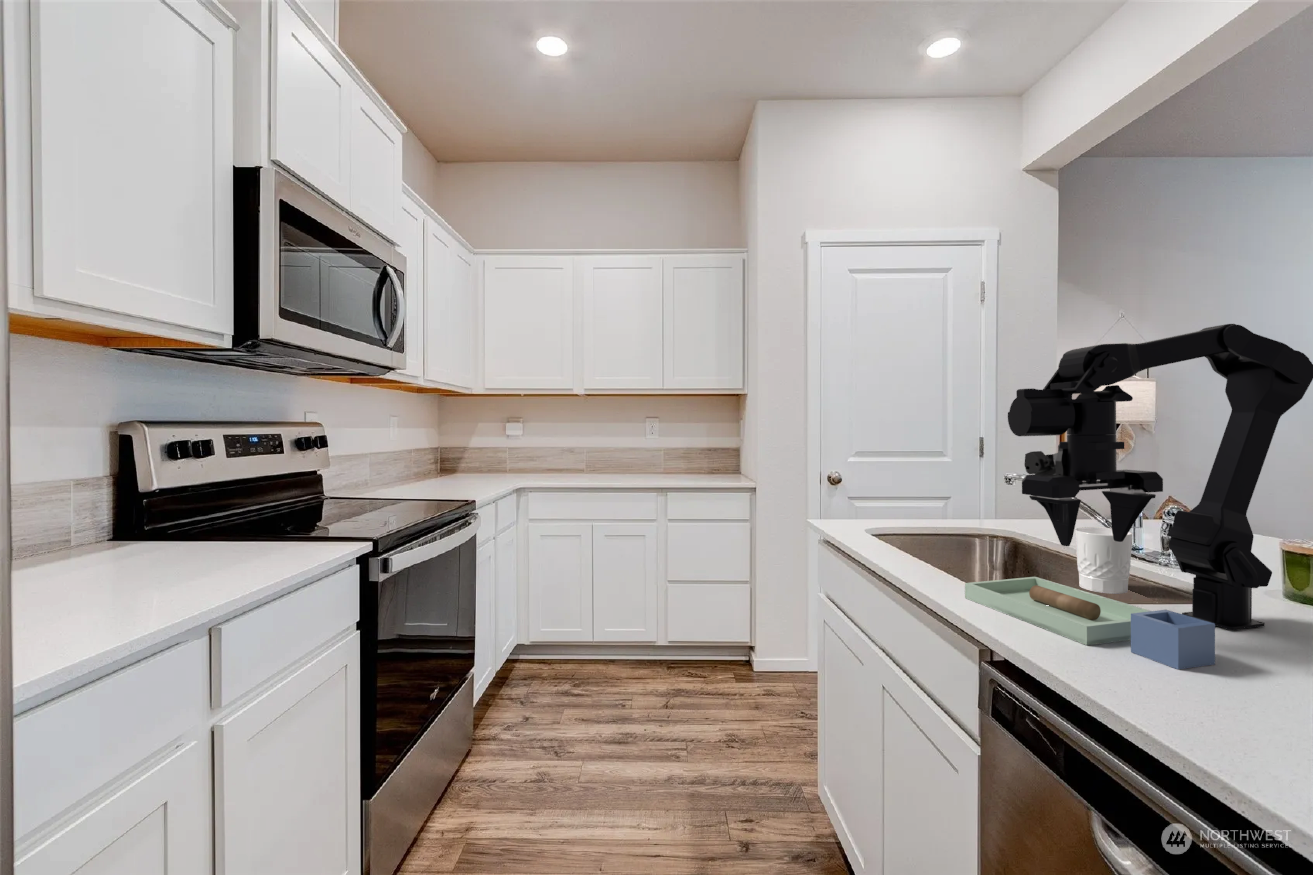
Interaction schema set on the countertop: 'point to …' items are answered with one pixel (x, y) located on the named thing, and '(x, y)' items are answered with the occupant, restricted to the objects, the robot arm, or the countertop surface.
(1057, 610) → the sage tray
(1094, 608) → the walnut dowel
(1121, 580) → the white cup
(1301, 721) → the countertop surface
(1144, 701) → the countertop surface
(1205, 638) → the slate blue cup
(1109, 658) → the countertop surface
